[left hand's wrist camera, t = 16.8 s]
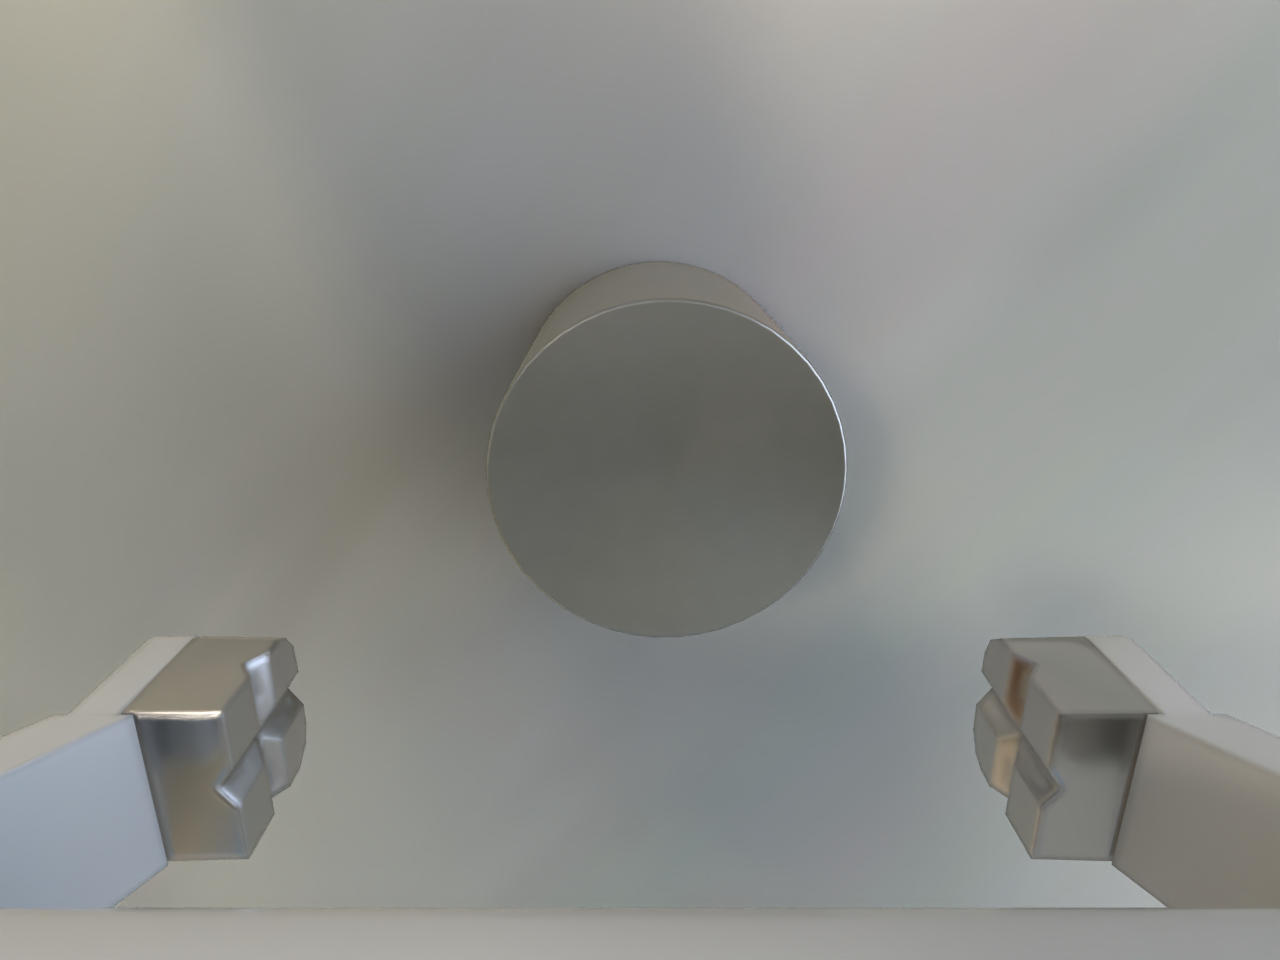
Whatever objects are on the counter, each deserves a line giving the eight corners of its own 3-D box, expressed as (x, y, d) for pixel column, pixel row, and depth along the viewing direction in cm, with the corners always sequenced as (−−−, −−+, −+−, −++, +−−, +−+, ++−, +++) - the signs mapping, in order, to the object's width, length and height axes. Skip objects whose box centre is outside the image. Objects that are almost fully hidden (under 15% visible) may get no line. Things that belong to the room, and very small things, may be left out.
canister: (601, 562, 17) (591, 688, 13) (472, 340, 16) (416, 404, 12) (834, 454, 16) (900, 551, 12) (723, 209, 15) (758, 228, 11)
